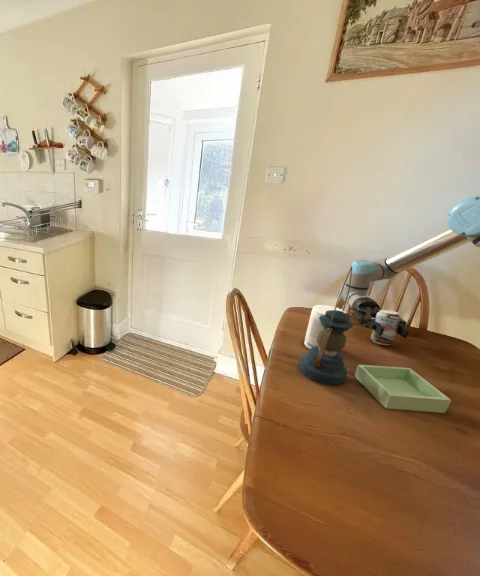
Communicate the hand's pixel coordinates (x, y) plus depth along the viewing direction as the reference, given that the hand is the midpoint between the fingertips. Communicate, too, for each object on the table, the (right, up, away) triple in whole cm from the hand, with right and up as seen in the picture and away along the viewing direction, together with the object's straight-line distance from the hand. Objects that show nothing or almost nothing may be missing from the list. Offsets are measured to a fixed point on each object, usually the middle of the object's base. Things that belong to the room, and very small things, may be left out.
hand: (393, 333), depth 104 cm
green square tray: (-15, -15, -16) cm, 27 cm away
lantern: (-30, -12, -8) cm, 33 cm away
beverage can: (+2, -5, +7) cm, 8 cm away
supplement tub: (-21, -6, +6) cm, 22 cm away
